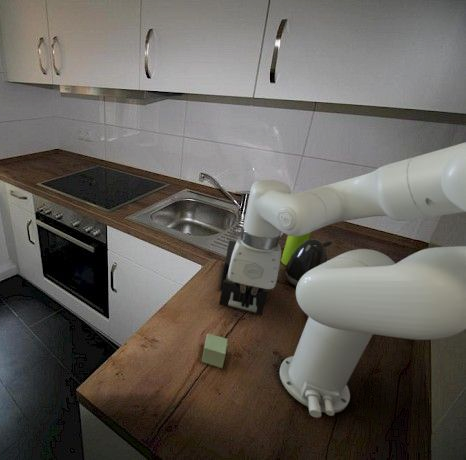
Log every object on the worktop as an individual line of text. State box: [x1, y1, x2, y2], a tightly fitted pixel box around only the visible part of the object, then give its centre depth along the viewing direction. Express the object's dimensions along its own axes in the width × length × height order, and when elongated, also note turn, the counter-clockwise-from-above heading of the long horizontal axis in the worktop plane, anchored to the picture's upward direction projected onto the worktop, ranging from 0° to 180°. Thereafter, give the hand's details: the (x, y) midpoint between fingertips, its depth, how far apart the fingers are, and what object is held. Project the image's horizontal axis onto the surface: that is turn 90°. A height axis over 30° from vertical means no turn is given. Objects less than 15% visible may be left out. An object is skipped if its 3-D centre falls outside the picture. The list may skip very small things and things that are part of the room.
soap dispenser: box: [280, 232, 312, 267], centre depth 100 cm, size 6×7×20 cm
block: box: [201, 332, 229, 369], centre depth 70 cm, size 4×4×4 cm
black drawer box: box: [219, 240, 237, 291], centre depth 93 cm, size 14×12×10 cm
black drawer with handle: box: [218, 269, 270, 317], centre depth 85 cm, size 17×11×8 cm, turn 158°
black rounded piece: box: [285, 238, 333, 288], centre depth 91 cm, size 10×10×15 cm
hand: (245, 303), depth 76 cm, fingers closed
